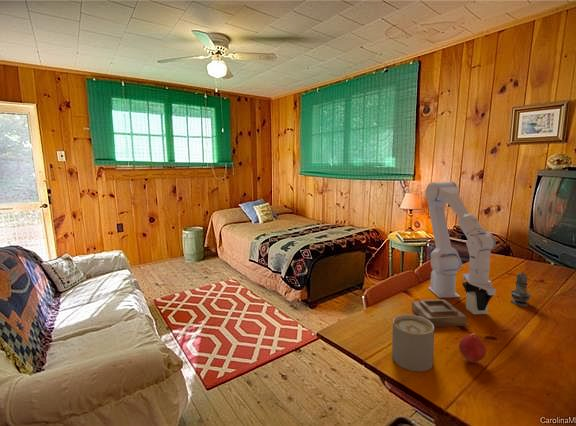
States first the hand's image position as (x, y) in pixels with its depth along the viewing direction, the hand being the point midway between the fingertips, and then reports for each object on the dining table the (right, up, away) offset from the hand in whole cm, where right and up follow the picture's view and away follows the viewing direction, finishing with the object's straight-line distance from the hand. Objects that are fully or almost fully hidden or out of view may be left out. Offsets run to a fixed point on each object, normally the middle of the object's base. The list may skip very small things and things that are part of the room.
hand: (476, 306), depth 102 cm
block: (0, -2, 0) cm, 2 cm away
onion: (-18, -6, -26) cm, 32 cm away
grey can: (-31, -6, -23) cm, 39 cm away
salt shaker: (+19, -1, +5) cm, 20 cm away
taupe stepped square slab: (-15, -3, -3) cm, 15 cm away
